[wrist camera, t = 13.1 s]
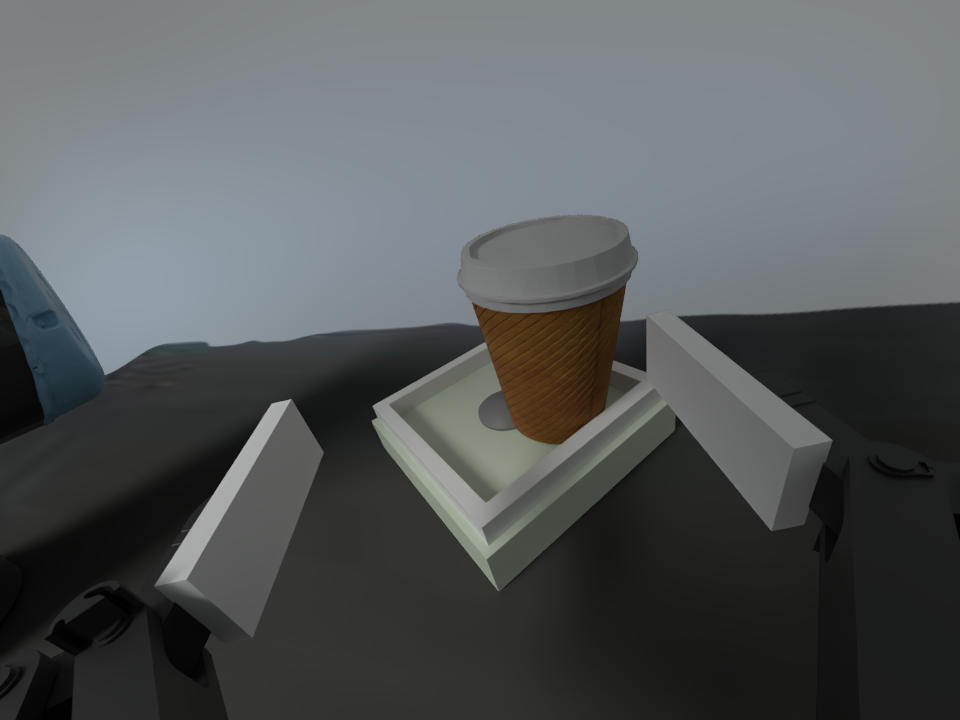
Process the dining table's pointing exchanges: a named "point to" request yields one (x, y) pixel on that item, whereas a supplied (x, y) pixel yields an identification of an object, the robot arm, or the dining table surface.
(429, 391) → the square rimmed tray
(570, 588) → the dining table surface
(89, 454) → the dining table surface
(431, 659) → the dining table surface
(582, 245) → the disposable coffee cup
